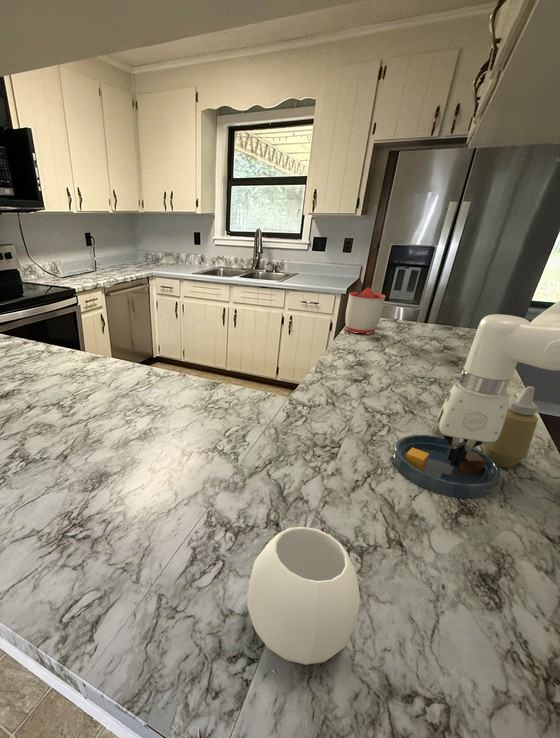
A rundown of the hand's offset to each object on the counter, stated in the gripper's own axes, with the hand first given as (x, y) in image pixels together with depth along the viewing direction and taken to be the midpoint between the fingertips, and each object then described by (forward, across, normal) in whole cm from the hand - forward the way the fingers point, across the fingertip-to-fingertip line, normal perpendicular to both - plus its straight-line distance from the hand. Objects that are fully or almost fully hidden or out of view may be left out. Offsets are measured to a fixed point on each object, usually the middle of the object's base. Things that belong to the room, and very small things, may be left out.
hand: (452, 462), depth 83 cm
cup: (+3, -27, -47) cm, 54 cm away
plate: (+2, -2, 0) cm, 3 cm away
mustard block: (+2, -7, -2) cm, 8 cm away
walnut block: (+2, +3, +1) cm, 4 cm away
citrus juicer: (+3, -16, +115) cm, 116 cm away
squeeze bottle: (+3, +11, +9) cm, 15 cm away
